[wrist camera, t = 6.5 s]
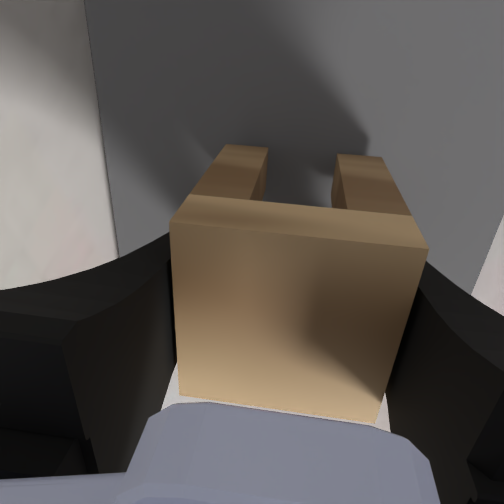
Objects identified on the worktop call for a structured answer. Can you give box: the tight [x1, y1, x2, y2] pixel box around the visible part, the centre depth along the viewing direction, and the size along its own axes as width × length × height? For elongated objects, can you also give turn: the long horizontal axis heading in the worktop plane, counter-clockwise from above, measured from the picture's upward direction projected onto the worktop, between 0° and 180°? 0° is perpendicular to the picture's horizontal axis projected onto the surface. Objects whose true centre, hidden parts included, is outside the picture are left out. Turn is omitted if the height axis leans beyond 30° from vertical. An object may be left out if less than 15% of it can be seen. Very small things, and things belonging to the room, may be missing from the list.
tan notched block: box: [169, 144, 429, 423], centre depth 11 cm, size 5×5×6 cm
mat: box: [84, 0, 504, 295], centre depth 15 cm, size 14×14×1 cm
